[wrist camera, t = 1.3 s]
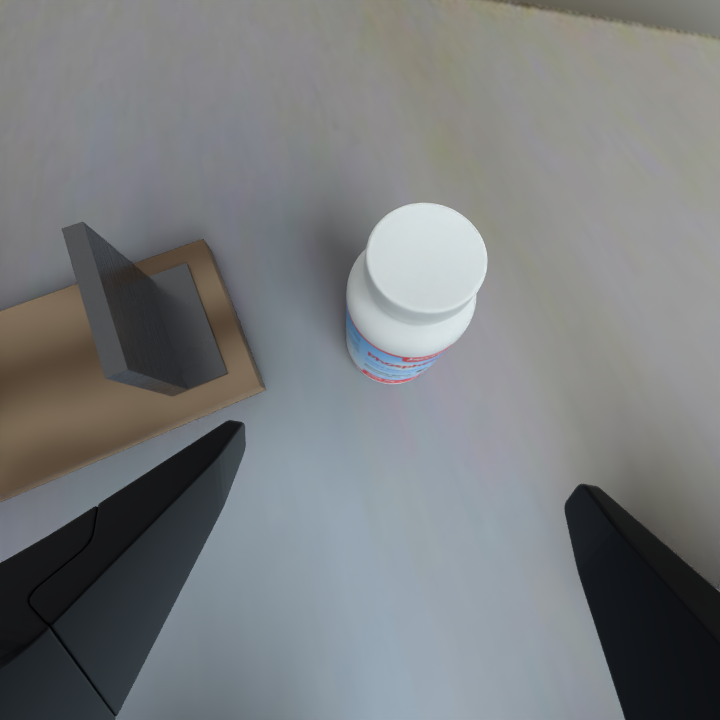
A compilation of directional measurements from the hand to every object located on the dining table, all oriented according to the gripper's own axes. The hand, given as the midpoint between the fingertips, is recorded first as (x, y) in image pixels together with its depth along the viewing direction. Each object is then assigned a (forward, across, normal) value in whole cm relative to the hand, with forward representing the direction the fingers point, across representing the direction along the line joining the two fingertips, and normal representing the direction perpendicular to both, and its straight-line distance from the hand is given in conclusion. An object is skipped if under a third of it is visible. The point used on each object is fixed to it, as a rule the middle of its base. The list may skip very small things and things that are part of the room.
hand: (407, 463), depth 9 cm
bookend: (+12, +13, +4) cm, 19 cm away
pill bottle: (+15, 0, +4) cm, 15 cm away
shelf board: (+10, +19, +8) cm, 23 cm away
